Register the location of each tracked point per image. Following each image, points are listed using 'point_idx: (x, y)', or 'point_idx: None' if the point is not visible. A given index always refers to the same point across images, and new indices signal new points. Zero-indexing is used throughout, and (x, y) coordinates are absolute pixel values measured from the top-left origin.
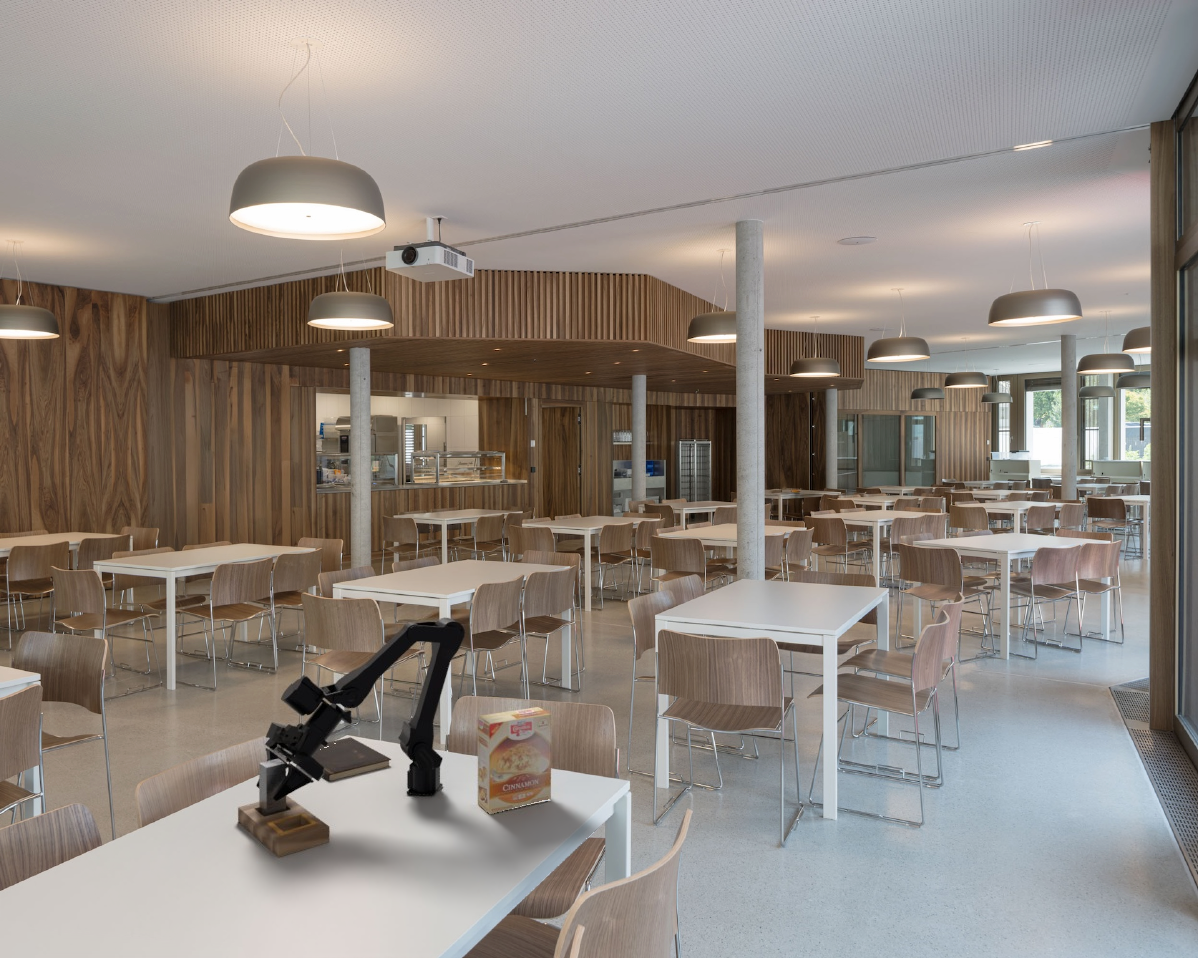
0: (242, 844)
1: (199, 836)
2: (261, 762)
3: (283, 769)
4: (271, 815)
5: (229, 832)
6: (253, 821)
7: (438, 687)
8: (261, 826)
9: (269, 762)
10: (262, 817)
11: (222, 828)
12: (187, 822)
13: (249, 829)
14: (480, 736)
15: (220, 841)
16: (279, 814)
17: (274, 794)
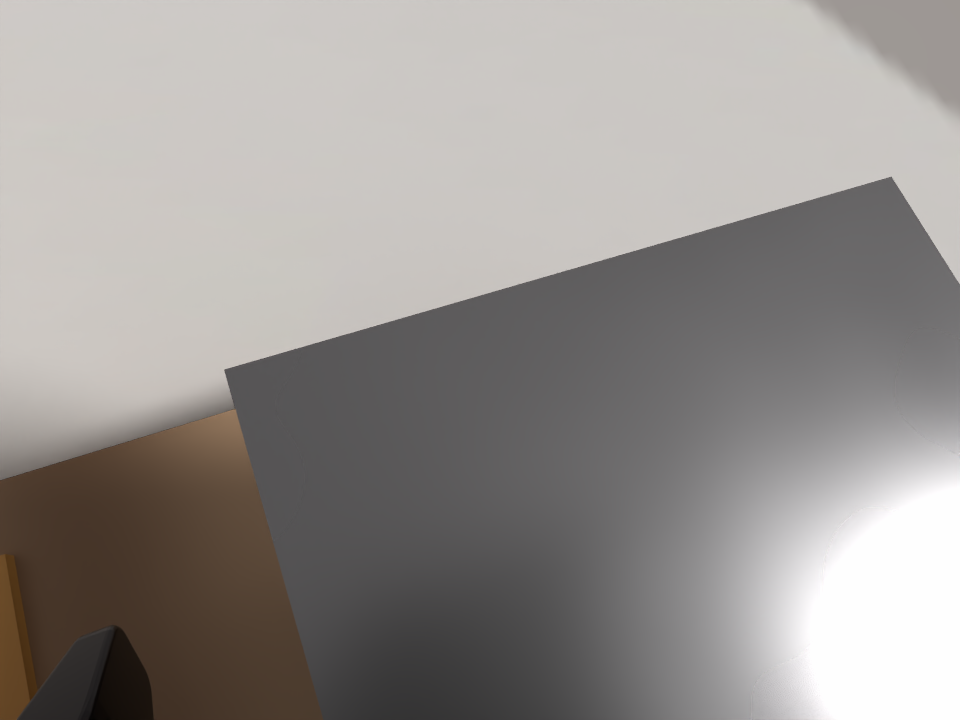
0: (87, 361)
1: (413, 98)
2: (922, 242)
3: None
4: (274, 608)
5: (401, 274)
6: (228, 416)
7: None
8: None
9: (885, 504)
10: (259, 505)
11: (503, 232)
12: (686, 49)
13: None
14: None
15: (247, 213)
16: (262, 709)
17: (89, 665)
